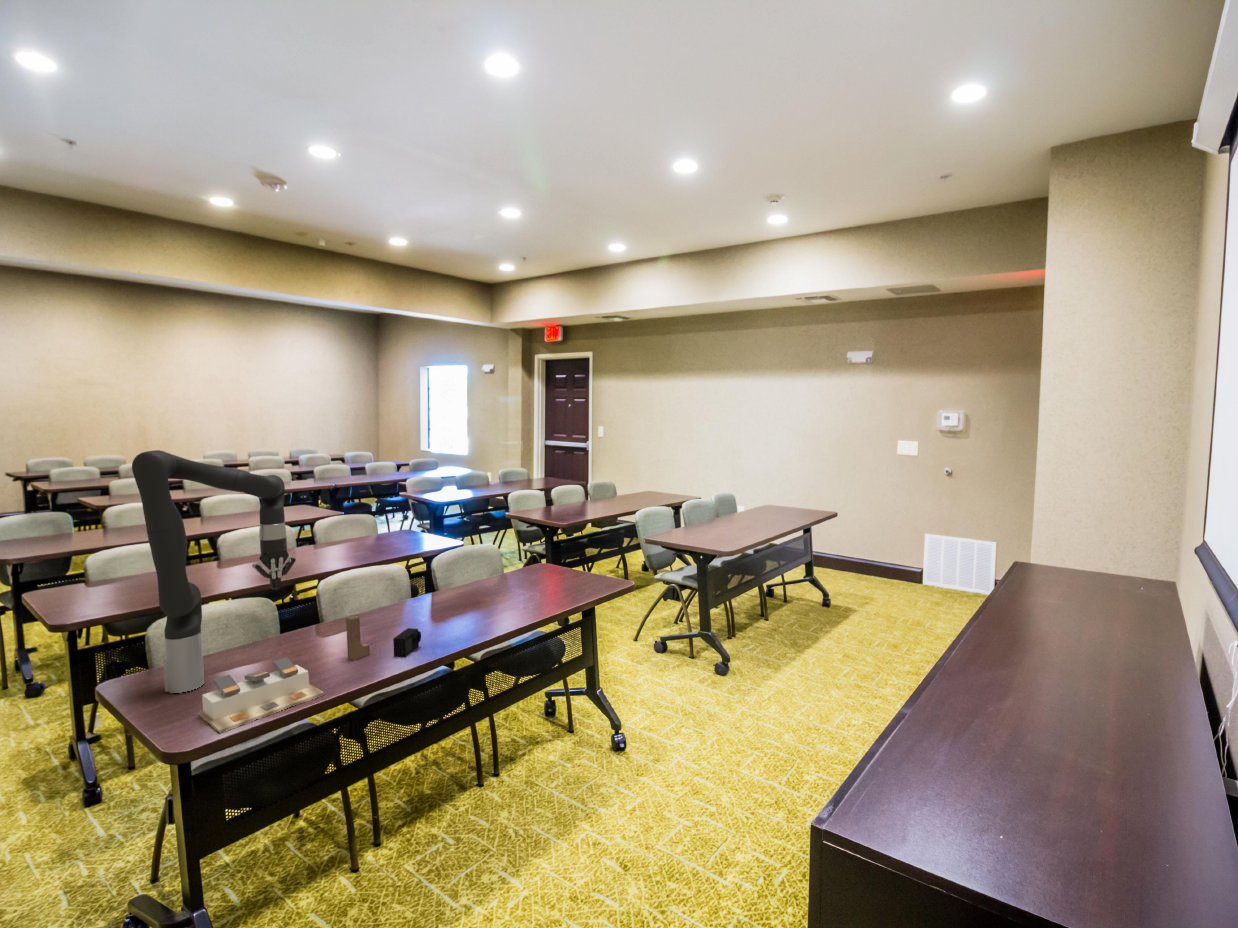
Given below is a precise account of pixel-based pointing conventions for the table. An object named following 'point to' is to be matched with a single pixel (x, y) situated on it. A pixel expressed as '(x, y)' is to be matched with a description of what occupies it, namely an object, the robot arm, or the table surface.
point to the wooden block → (355, 639)
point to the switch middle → (257, 675)
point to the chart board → (262, 709)
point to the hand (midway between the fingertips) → (276, 589)
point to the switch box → (254, 693)
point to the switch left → (226, 685)
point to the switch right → (285, 667)
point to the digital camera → (406, 642)
